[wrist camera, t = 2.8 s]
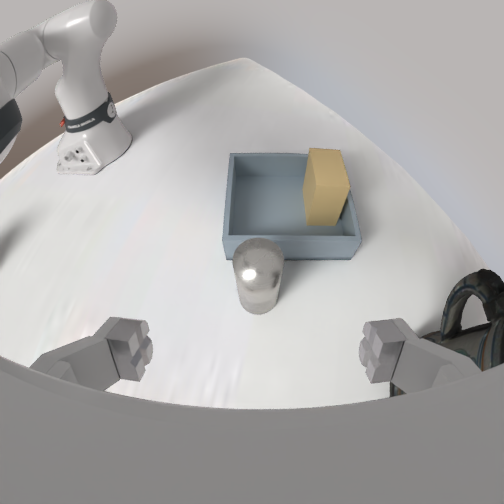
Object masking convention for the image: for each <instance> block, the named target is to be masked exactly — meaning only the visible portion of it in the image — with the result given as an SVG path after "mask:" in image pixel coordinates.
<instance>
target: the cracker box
mask: <svg viewBox="0 0 504 504" xmlns="http://www.w3.org/2000/svg"><path fill="white" fill-rule="evenodd" d="M302 190H303V198H304V206H305V215H306V224H307V226H336V223H337V221H338V218H339V216H340V213H341V211H342V208H343V205H344V203H345V200H346V198H347V195H348V192H349V190H350V183H349V179H348V176H347V172H346V169H345V165H344V162H343V159H342V155H341V152H340V150H333V149H317V148H309V154H308V160H307V166H306V172H305V177H304V183H303V188H302Z"/></svg>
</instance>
